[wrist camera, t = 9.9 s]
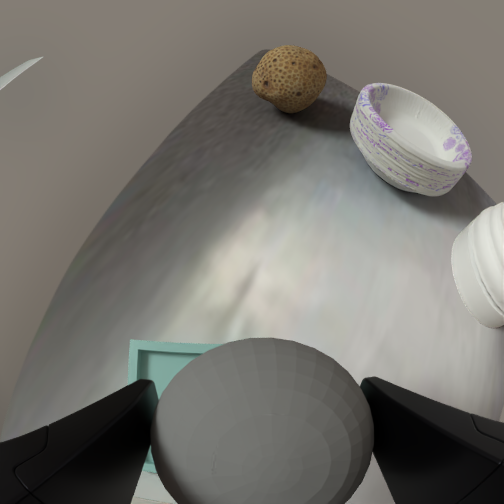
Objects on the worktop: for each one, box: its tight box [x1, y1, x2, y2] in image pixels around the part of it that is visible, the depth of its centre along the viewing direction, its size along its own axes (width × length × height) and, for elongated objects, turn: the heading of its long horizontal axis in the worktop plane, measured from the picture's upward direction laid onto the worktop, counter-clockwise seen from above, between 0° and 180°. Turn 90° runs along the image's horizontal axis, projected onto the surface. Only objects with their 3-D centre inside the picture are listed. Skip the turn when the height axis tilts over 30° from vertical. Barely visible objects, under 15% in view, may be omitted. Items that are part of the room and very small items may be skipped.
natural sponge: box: [252, 45, 327, 113], centre depth 30 cm, size 9×9×10 cm
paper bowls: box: [350, 83, 472, 196], centre depth 28 cm, size 15×15×8 cm
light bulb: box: [150, 338, 374, 504], centre depth 8 cm, size 6×6×10 cm
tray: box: [128, 340, 223, 473], centre depth 17 cm, size 10×10×1 cm
